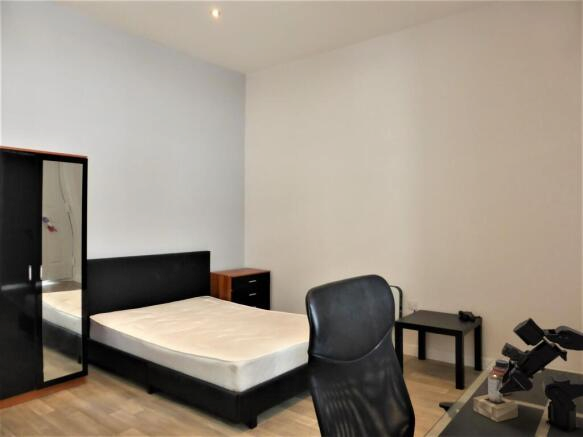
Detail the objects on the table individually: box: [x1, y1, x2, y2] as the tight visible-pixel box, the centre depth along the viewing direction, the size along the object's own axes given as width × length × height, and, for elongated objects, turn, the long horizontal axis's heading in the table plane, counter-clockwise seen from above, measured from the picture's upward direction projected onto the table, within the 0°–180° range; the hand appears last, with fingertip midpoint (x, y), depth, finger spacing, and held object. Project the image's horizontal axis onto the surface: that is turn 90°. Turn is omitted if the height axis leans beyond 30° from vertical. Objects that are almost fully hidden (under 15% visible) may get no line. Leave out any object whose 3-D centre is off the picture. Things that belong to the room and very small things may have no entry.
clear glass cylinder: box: [486, 371, 503, 405], centre depth 133 cm, size 4×4×12 cm
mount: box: [472, 394, 519, 423], centre depth 133 cm, size 9×9×4 cm
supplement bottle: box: [492, 359, 512, 396], centre depth 150 cm, size 6×6×11 cm
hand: (499, 387), depth 132 cm, fingers open, 9 cm apart
